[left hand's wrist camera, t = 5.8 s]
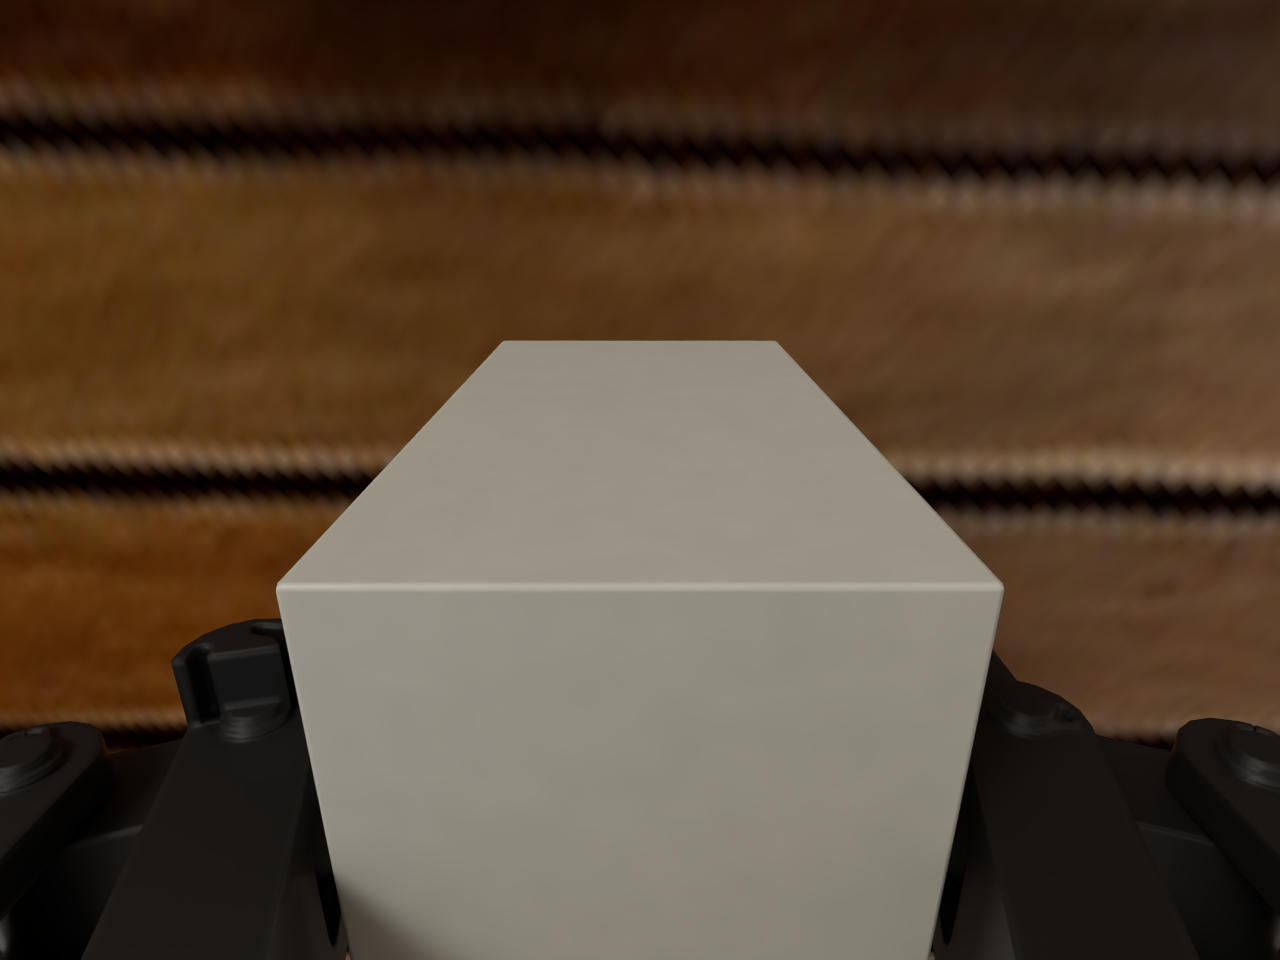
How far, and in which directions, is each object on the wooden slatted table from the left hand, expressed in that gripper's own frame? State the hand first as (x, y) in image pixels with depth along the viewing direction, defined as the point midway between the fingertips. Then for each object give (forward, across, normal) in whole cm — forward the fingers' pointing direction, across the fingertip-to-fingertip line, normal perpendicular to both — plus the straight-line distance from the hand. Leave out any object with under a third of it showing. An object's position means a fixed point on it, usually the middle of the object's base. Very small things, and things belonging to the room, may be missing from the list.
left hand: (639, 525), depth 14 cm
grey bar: (0, 0, +8) cm, 9 cm away
